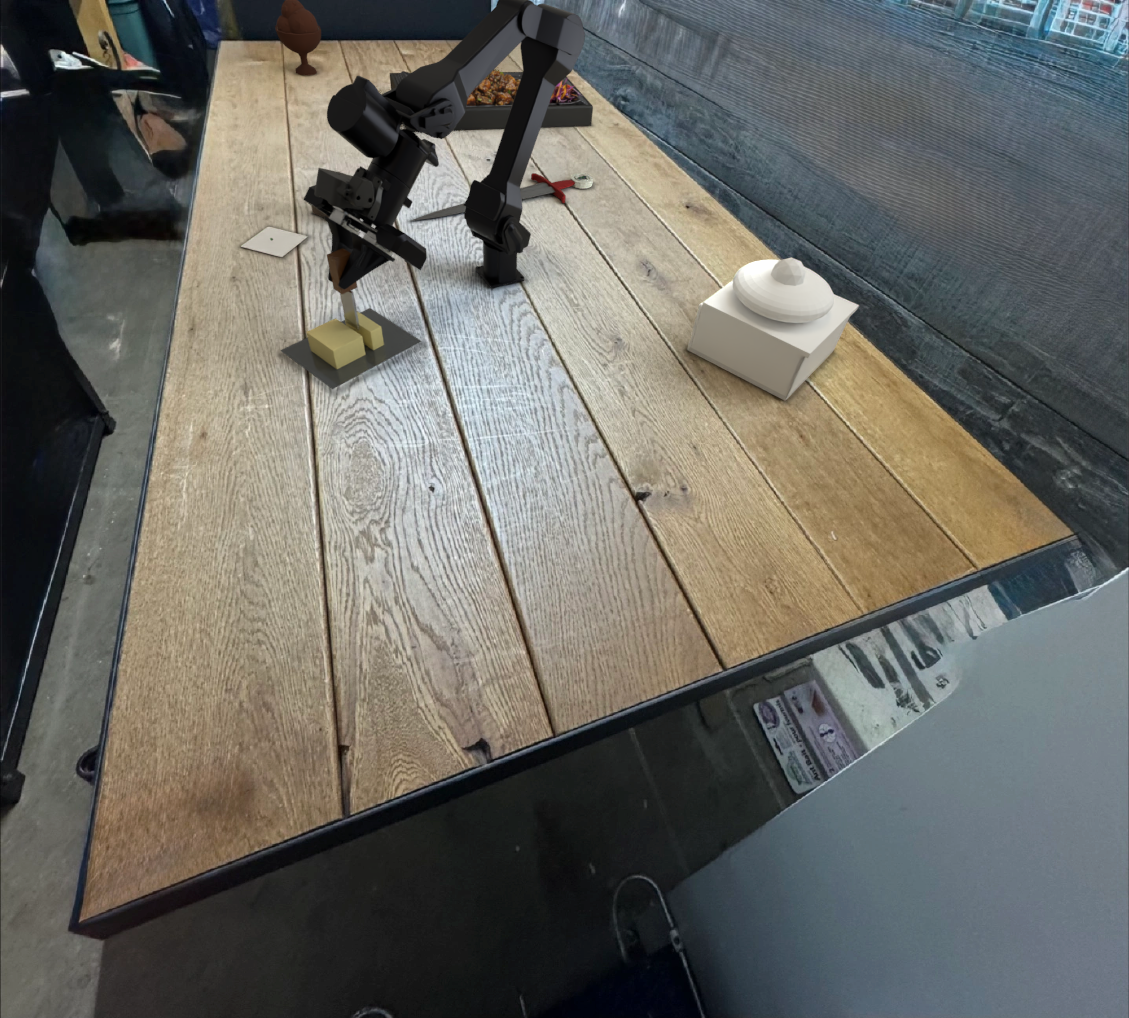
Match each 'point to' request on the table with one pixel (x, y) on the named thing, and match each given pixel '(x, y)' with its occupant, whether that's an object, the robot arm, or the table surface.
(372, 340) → the butter slice
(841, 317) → the white lidded jar
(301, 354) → the butter board
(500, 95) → the food platter
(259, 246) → the coaster
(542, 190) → the dagger
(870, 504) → the table surface
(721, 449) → the table surface
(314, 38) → the ice cream bowl
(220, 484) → the table surface
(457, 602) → the table surface
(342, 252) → the knife
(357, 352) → the butter block
